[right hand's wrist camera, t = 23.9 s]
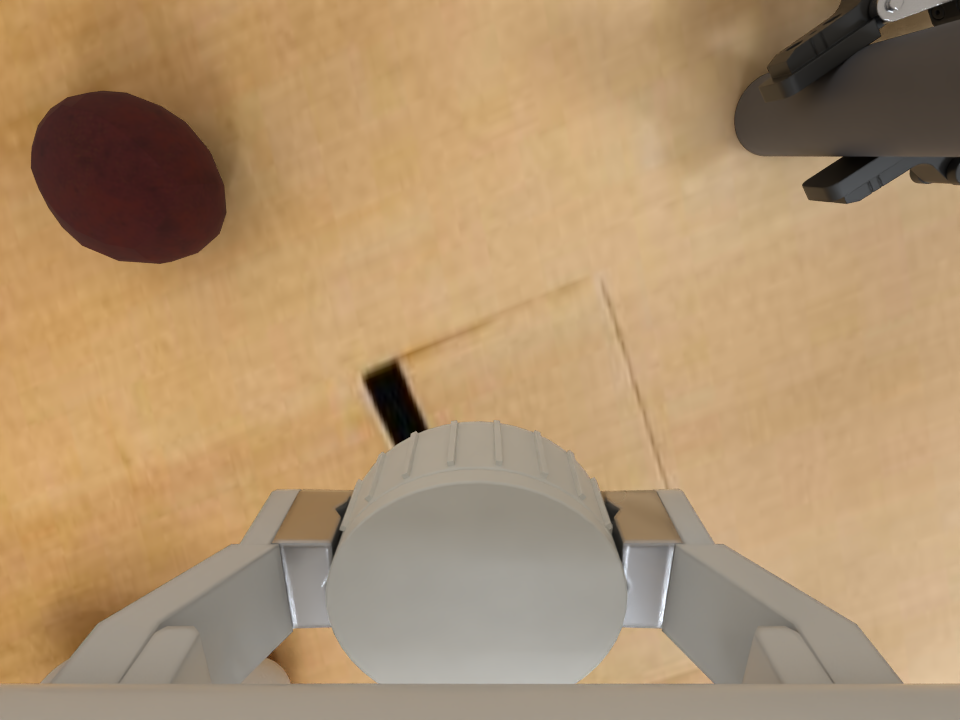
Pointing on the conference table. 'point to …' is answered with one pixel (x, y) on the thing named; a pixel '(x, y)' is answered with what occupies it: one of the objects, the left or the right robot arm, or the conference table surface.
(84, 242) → the potato
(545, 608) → the lid
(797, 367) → the conference table surface
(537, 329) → the conference table surface
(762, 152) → the dark grey cylinder
